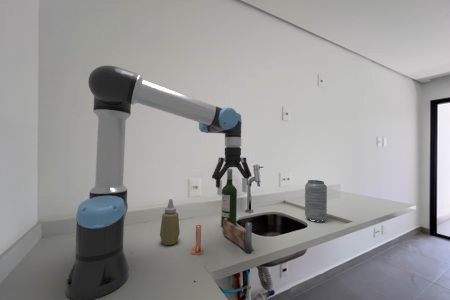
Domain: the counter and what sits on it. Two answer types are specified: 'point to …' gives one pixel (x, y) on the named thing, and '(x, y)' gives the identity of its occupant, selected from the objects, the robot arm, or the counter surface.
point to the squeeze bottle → (170, 225)
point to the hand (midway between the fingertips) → (232, 193)
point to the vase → (316, 200)
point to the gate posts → (247, 248)
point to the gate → (234, 233)
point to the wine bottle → (229, 200)
